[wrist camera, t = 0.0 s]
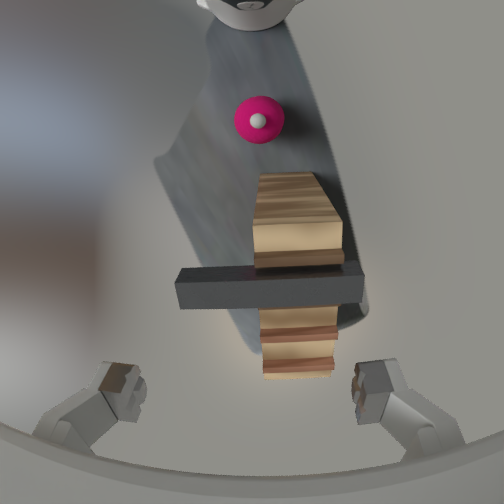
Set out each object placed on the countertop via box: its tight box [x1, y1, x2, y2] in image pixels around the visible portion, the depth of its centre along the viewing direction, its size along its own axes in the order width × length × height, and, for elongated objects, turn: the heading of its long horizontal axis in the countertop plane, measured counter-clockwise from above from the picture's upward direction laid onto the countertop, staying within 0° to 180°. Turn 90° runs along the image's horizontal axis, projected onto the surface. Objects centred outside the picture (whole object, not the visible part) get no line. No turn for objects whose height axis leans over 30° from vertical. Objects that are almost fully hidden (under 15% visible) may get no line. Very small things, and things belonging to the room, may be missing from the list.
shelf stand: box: [253, 172, 344, 380], centre depth 47 cm, size 22×9×28 cm, turn 4°
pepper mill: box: [234, 96, 284, 144], centre depth 42 cm, size 7×7×20 cm
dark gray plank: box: [175, 260, 365, 309], centre depth 33 cm, size 19×3×3 cm, turn 94°
